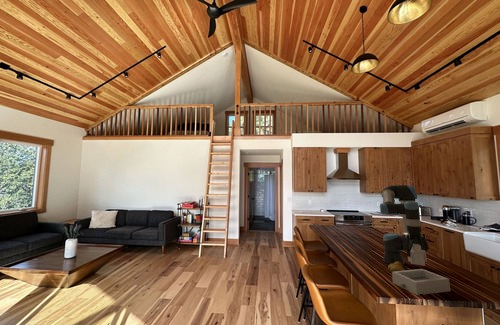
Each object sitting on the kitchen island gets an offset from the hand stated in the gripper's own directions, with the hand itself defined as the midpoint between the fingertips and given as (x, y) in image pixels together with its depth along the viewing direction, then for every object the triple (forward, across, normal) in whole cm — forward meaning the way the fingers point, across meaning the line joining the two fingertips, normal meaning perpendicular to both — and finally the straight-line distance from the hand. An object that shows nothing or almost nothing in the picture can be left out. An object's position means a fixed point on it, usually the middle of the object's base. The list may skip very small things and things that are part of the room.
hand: (417, 261), depth 137 cm
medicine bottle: (+1, 0, 0) cm, 1 cm away
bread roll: (+16, +3, +20) cm, 26 cm away
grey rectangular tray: (+15, 0, 0) cm, 15 cm away
